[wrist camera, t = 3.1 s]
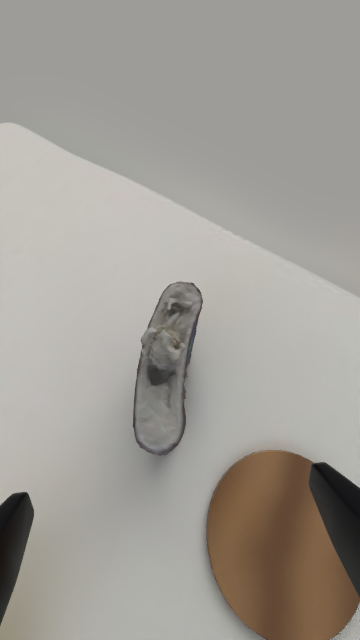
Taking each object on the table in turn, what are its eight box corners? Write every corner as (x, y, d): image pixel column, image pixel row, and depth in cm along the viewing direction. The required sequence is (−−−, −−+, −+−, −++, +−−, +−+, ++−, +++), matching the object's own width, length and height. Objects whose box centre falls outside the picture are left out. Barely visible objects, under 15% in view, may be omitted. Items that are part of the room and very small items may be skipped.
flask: (178, 454, 20) (181, 461, 10) (138, 447, 20) (103, 447, 10) (195, 337, 24) (209, 260, 14) (162, 332, 24) (152, 252, 14)
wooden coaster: (357, 469, 20) (362, 470, 19) (364, 666, 15) (371, 673, 15) (220, 434, 20) (221, 434, 20) (191, 612, 16) (192, 618, 16)
